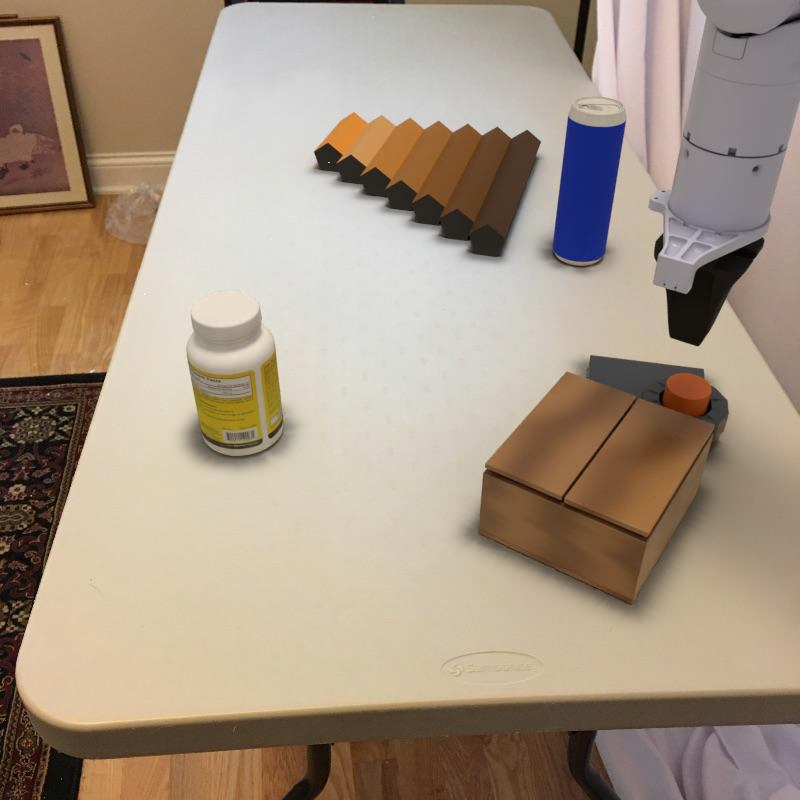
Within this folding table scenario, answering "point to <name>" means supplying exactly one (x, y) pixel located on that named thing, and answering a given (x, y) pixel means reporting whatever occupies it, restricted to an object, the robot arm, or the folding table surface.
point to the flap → (640, 466)
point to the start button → (687, 394)
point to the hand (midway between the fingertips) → (687, 337)
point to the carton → (555, 476)
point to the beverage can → (588, 179)
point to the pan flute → (436, 173)
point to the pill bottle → (234, 374)
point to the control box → (654, 384)
